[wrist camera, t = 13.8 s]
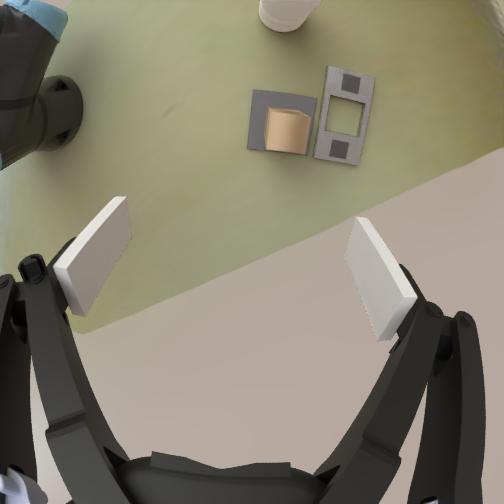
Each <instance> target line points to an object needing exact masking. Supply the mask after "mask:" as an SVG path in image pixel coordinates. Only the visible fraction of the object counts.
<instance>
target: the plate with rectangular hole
mask: <svg viewBox="0 0 504 504" xmlns="http://www.w3.org/2000/svg"><path fill="white" fill-rule="evenodd" d="M374 82H375V78H373V77H370V76H367V75H363V74H360V73H356V72H353V71H349V70H345V69H341V68H337V67H333V66H327V68H326V76H325V83H324V90H323V96H322V103H321V109H320V116H319V122H318V128H317V134H316V140H315V145H314V151H313V157H314V158H318V159H324V160H330V161H336V162H341V163H347V164H352V165H357V166H358V164H359V160H360V155H361V151H362V146H363V142H364V137H365V132H366V127H367V122H368V117H369V111H370V106H371V100H372V94H373V88H374ZM330 95H333V96H338V97H342V98H346V99H350V100H354V101H358V102H362V103H363V107H362V112H361V118H360V123H359V128H358V133H357V137H356V136H352V135H348V134H343V133H338V132H333V131H328V130H325V124H326V118H327V112H328V106H329V99H330Z"/></svg>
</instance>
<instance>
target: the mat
mask: <svg viewBox="0 0 504 504" xmlns="http://www.w3.org/2000/svg"><path fill="white" fill-rule="evenodd" d="M315 105H316V98H311V97H306V96H300V95H293V94H286V93H279V92H271V91H262V90H253V97H252V106H251V116H250V125H249V135H248V145H247V149H257V150H267V149H266V145H265V140H264V129H265V120H266V112H267V106H270V107H278V108H286V109H293V110H299V111H301V112H302V113H304V114H306V115H308V116H309V117H311V120H310V126H309V133H308V139H307V145H306V151H305V154H299V153H292V152H284V151H276V150H267V151H276V152H284V153H292V154H299V155H306V156H307V155H308V149H309V143H310V137H311V131H312V125H313V118H314V112H315Z"/></svg>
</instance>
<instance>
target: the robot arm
mask: <svg viewBox="0 0 504 504" xmlns="http://www.w3.org/2000/svg"><path fill="white" fill-rule="evenodd" d="M67 21H68V15H67V13H66V12H65V11H64V10H62V9H60V8H57V7H55V6H52V5H50V4H47V3H44V2H40V1H37V0H6V1H5V2H4V4H3V6H0V171H1V170H3V169H4V168H6V167H7V166H9V165H11V164H12V163H14V162H16V161H17V160H19V159H21V158H22V157H24V156H26V155H28V154H29V153H31V152H33V151H53V150H56V149H58V148H60V147H62V146H64V145H66V144H67V143H69V142H70V141H71V140H72V139H73V137H74V136H75V134H76V133H77V131H78V129H79V126H80V124H81V120H82V114H83V101H82V96H81V93H80V90H79V88H78V86H77V85H76V84H75V82H74V81H73V80H71V79H70V78H68V77H66V76H51V77H47V78H45V79H43V77H44V75H45V72H46V70H47V67H48V64H49V62H50V60H51V57H52V55H53V53H54V50H55V48H56V46H57V44H58V43H59V42H60V37H61V35H62V33H63V30H64V28H65V26H66V24H67ZM131 239H132V234H131V228H130V220H129V213H128V204H127V197H114V198H113V199H112V200H111V201H110V202H109V203H108V204H107V205H106V206H105V207H104V208H103V209H102V210H101V212H100V213H99V214H98V215H97V216H96V217H95V218H94V219H93V220H92V221H91V222H90V223H89V224H88V225H87V227H86V228H85V229H84V230H83V231H82V232H81V233H80V234H79V236H78V237H74V238H72V239H71V240H69V241H68V242H67V243H66V244H65V245H64V246H63V247H62V250H60V251H59V252H58V254H57V255H56V256H55V257H54V258H53V259H52V260H51V262H50V263H49V264H48V265H47V267H46V265H45V263H44V260H43V257H42V255H40V254H33V255H29V256H28V257H26V258H24V259H23V260H22V261H21V262H20V264H19V266H18V270H19V272H20V274H21V277H22V279H23V282H15V279H14V277H13V275H11V274H5V275H2V276H1V277H0V504H47V502H48V498H47V495H46V494H45V492H44V491H42V490H41V488H40V487H39V485H38V484H37V466H36V458H35V451H34V444H33V435H32V424H31V410H30V409H31V408H30V364H31V355H32V361H33V366H34V371H35V375H36V381H37V385H38V389H39V393H40V396H41V401H42V404H43V407H44V411H45V414H46V417H47V421H48V424H49V428H48V429H47V430H46V431H45V436H46V439H47V443H48V445H49V448H50V451H51V453H52V456H53V458H54V461H55V463H56V466H57V468H58V470H59V472H60V475H61V477H62V479H63V481H64V483H65V485H66V487H67V489H68V491H69V493H70V495H71V497H72V500H71V501H69V502H68V503H66V504H379V502H380V500H381V499H382V497H383V495H384V494H385V492H386V491H387V489H388V487H389V485H390V484H391V482H392V480H393V478H394V476H395V474H396V473H397V470H398V469H399V467H400V464H401V458H400V456H399V451H400V449H401V447H402V445H403V442H404V440H405V438H406V436H407V434H408V432H409V429H410V427H411V425H412V422H413V420H414V417H415V415H416V412H417V409H418V407H419V404H420V402H421V399H422V396H423V394H424V391H425V388H426V385H427V397H426V407H425V415H424V423H423V430H422V436H421V442H420V447H419V453H418V457H417V462H416V466H415V471H414V475H413V479H412V482H411V486H410V491H409V495H408V501H407V504H483V501H482V487H481V486H482V485H481V477H482V470H483V460H484V449H485V429H486V427H485V426H486V424H485V423H486V416H485V415H486V411H485V410H486V409H485V389H484V388H485V387H484V375H483V366H482V358H481V351H480V345H479V338H478V333H477V328H476V323H475V321H474V319H473V318H472V316H471V315H469V314H468V313H466V312H464V311H458V312H457V313H456V315H455V316H454V318H451V317H448V316H444V315H443V312H442V310H441V309H440V308H439V307H438V306H437V305H436V304H434V303H432V302H429V301H426V299H425V297H424V296H423V294H422V293H421V291H420V289H419V287H418V286H417V284H416V282H415V281H414V279H412V276H411V274H410V273H409V271H408V270H407V269H406V268H405V267H404V266H403V265H402V264H398V263H397V262H396V260H395V259H394V257H393V255H392V254H391V252H390V251H389V249H388V248H387V246H386V245H385V243H384V242H383V240H382V239H381V237H380V236H379V234H378V233H377V231H376V230H375V228H374V227H373V225H372V224H371V223H370V221H369V220H368V219H367V218H362V217H356V218H355V222H354V226H353V228H352V232H351V235H350V238H349V241H348V244H347V247H346V250H345V253H344V258H345V260H346V262H347V265H348V267H349V270H350V272H351V274H352V276H353V279H354V281H355V284H356V286H357V289H358V291H359V294H360V296H361V299H362V302H363V304H364V307H365V309H366V312H367V314H368V317H369V320H370V322H371V325H372V328H373V331H374V333H375V336H376V339H377V341H384V340H385V341H386V340H391V339H392V337H393V336H394V334H395V333H396V332H397V334H398V336H399V339H398V340H397V342H396V343H395V344H394V346H393V347H392V349H391V350H390V352H389V353H390V356H389V358H388V360H387V362H386V364H385V367H384V368H383V371H382V372H381V374H380V376H379V378H378V380H377V382H376V384H375V386H374V388H373V389H372V391H371V393H370V395H369V397H368V399H367V400H366V402H365V404H364V405H363V407H362V409H361V410H360V412H359V414H358V415H357V417H356V419H355V420H354V422H353V423H352V425H351V426H350V428H349V429H348V431H347V433H346V434H345V435H344V437H343V438H342V440H341V441H340V443H339V444H338V446H337V447H336V448H335V450H334V451H333V453H332V454H331V455H330V457H329V458H328V459H327V460H326V461H325V462H324V463H323V464H322V465H321V466H320V467H319V468H318V469H317V470H316V471H315V473H314V474H313V475H311V474H309V473H307V472H305V471H302V470H299V469H296V468H291V467H290V462H284V463H254V464H249V465H243V466H238V467H233V468H226V469H218V468H214V467H211V466H208V465H205V464H202V463H200V462H197V461H194V460H191V459H188V458H186V457H181V456H175V455H169V454H164V453H158V452H153V451H152V455H151V457H141V458H137V459H133V460H130V459H129V457H128V456H127V454H126V453H125V451H124V450H123V448H122V447H121V446H120V445H119V443H118V442H117V441H116V439H115V437H114V435H113V433H112V431H111V430H110V428H109V426H108V424H107V422H106V420H105V418H104V416H103V413H102V411H101V409H100V407H99V405H98V403H97V400H96V398H95V396H94V393H93V391H92V388H91V386H90V383H89V381H88V378H87V376H86V373H85V371H84V368H83V365H82V362H81V359H80V357H79V354H78V350H77V347H76V344H75V341H74V338H73V334H72V331H71V328H70V324H69V320H68V316H67V314H66V312H65V310H66V308H67V307H68V305H69V307H70V310H71V312H72V314H74V315H79V316H83V317H86V315H87V313H88V311H89V309H90V308H91V306H92V304H93V302H94V300H95V298H96V297H97V295H98V293H99V291H100V289H101V288H102V286H103V284H104V282H105V281H106V279H107V277H108V276H109V274H110V272H111V270H112V269H113V267H114V266H115V264H116V262H117V261H118V259H119V257H120V256H121V254H122V253H123V251H124V249H125V248H126V246H127V245H128V243H129V242H130V240H131ZM427 382H428V384H427Z"/></svg>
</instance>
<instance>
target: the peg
mask: <svg viewBox="0 0 504 504" xmlns="http://www.w3.org/2000/svg"><path fill="white" fill-rule="evenodd" d="M310 120H311V117H309V116H308V115H306V114H304V113H302V112H301V111H299V110H293V109H286V108H278V107H270V106H267V112H266V120H265V129H264V140H265V145H266V149H267V150H276V151H284V152H292V153H299V154H305V151H306V145H307V139H308V133H309V126H310Z"/></svg>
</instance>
